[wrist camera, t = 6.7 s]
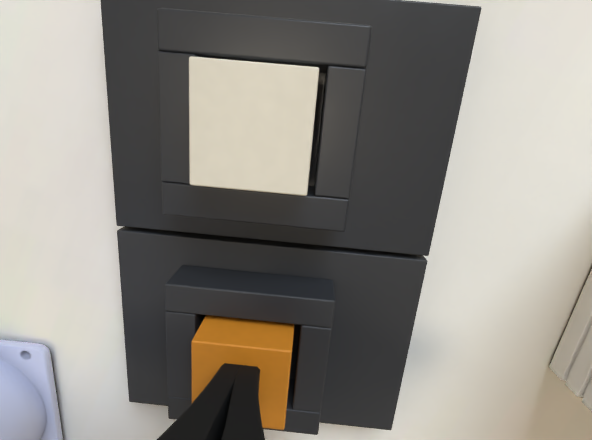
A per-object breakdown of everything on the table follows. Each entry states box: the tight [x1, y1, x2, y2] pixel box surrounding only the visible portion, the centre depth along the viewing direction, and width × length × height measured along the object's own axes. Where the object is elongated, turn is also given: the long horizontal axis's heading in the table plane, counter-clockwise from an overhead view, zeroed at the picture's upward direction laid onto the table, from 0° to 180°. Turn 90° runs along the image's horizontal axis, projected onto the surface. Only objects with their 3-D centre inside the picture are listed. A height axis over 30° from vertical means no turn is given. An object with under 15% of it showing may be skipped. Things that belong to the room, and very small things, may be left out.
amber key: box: [191, 315, 294, 430], centre depth 13 cm, size 4×4×2 cm
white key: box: [189, 56, 319, 196], centre depth 11 cm, size 4×4×2 cm
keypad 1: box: [117, 226, 427, 435], centre depth 15 cm, size 13×9×3 cm
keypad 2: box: [101, 0, 481, 256], centre depth 12 cm, size 13×9×3 cm
